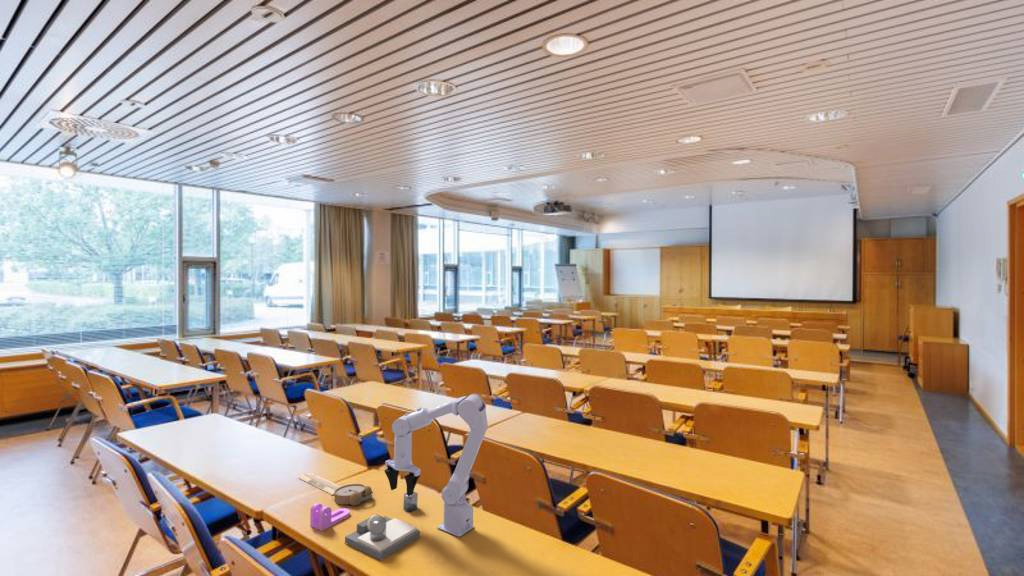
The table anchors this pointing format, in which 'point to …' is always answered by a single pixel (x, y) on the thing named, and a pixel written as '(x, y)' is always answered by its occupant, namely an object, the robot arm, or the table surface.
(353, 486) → the alarm clock
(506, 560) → the table surface
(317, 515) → the bracket
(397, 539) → the scale
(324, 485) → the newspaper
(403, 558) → the table surface
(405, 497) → the cylinder
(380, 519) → the cylinder
